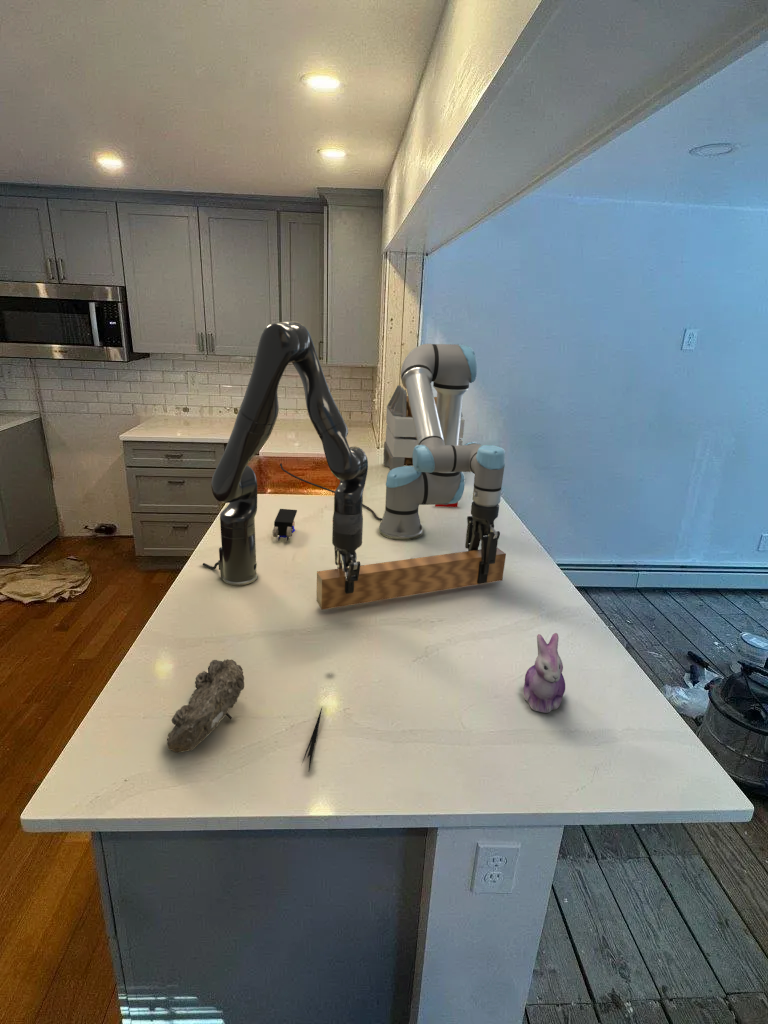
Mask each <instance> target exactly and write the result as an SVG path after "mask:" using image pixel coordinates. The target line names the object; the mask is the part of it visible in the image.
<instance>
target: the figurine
mask: <svg viewBox="0 0 768 1024" xmlns="http://www.w3.org/2000/svg"><path fill="white" fill-rule="evenodd" d="M536 645H537V656H536V658H535V661H534V665H532V666H530V667H529V668H528V669H527V670H526V673H525V676H524V684H523V697H524V699H525V700H526V702H527V703H528V705H529V707H530V709H532V710H533V711H535V712H540V713H546V714H547V713H548V714H549V713H551V711H553V710H558V708H560V705H561V703H562V701H563V697H564V694H565V692H566V680H565V677H564V675H563V670H564V664H563V661H562V659H561V657H560V654H559V651H558V648H559V634H558V633H557V632H554V633H553V634H552V635H551V637H550V640H549V641H548V643H547V642H546V640H545V638H544V637H543V636H542V635H541V634H539V633H538V634H537V635H536Z"/></svg>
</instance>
